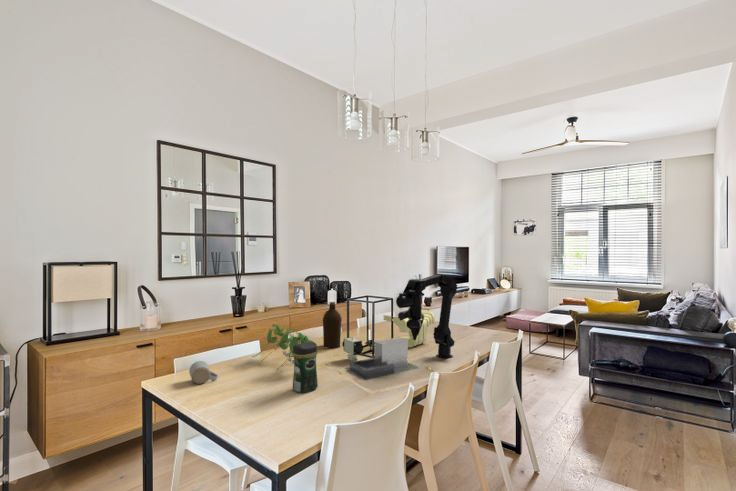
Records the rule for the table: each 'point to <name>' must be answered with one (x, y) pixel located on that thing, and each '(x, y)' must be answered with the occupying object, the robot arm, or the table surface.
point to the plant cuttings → (285, 339)
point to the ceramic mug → (201, 372)
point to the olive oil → (332, 327)
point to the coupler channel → (375, 369)
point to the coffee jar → (305, 367)
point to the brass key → (429, 369)
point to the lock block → (391, 352)
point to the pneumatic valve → (352, 347)
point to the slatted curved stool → (402, 325)
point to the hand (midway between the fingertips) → (415, 337)
